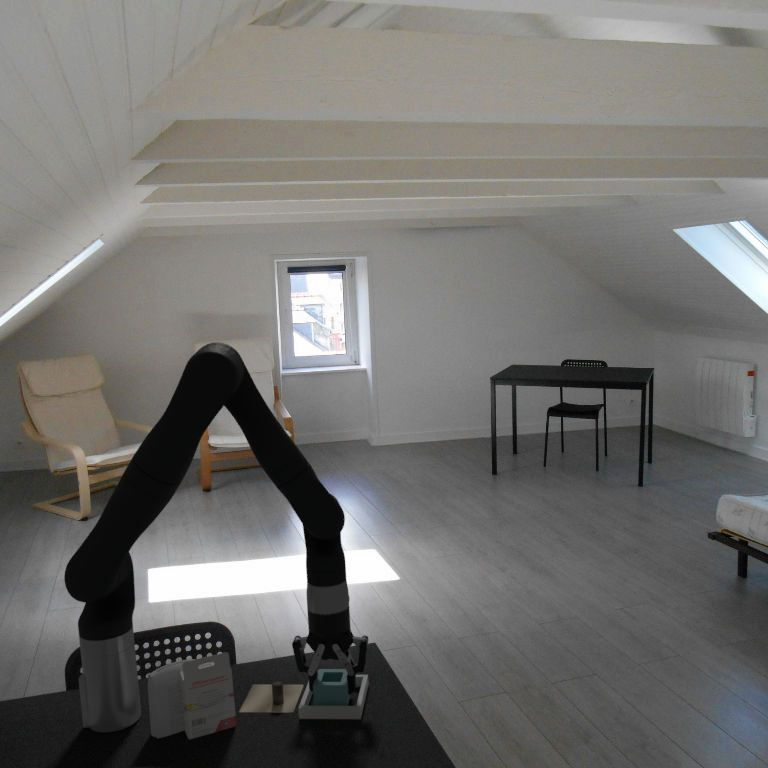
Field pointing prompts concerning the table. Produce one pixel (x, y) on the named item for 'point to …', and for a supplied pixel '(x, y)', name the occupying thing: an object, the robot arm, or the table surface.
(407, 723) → the table surface
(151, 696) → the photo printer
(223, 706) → the ink cartridge box
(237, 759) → the table surface
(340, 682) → the teal hollow block
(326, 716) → the tray
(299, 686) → the peg board
